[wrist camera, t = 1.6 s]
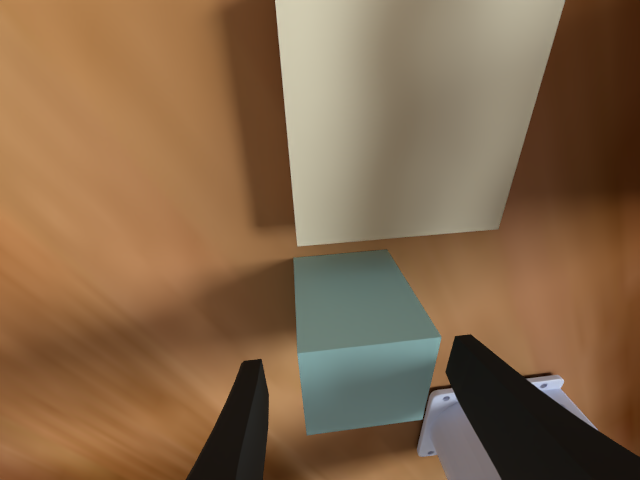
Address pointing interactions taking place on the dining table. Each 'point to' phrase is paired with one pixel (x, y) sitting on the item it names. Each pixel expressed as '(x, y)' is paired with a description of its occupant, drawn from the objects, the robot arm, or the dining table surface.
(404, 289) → the teal block
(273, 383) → the dining table surface
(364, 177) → the cream block
